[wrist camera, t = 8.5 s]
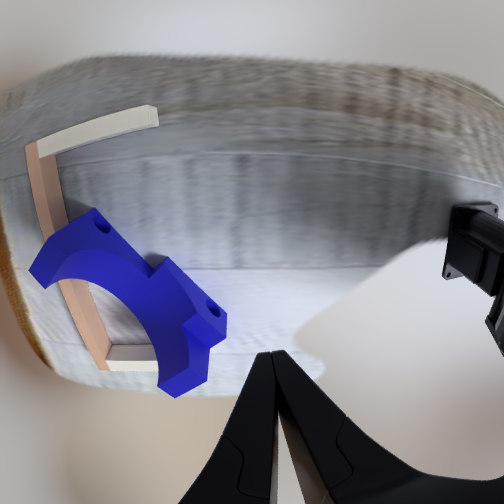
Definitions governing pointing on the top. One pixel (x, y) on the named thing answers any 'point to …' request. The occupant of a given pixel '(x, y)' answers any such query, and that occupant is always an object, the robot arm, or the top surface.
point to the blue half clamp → (140, 296)
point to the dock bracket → (55, 219)
